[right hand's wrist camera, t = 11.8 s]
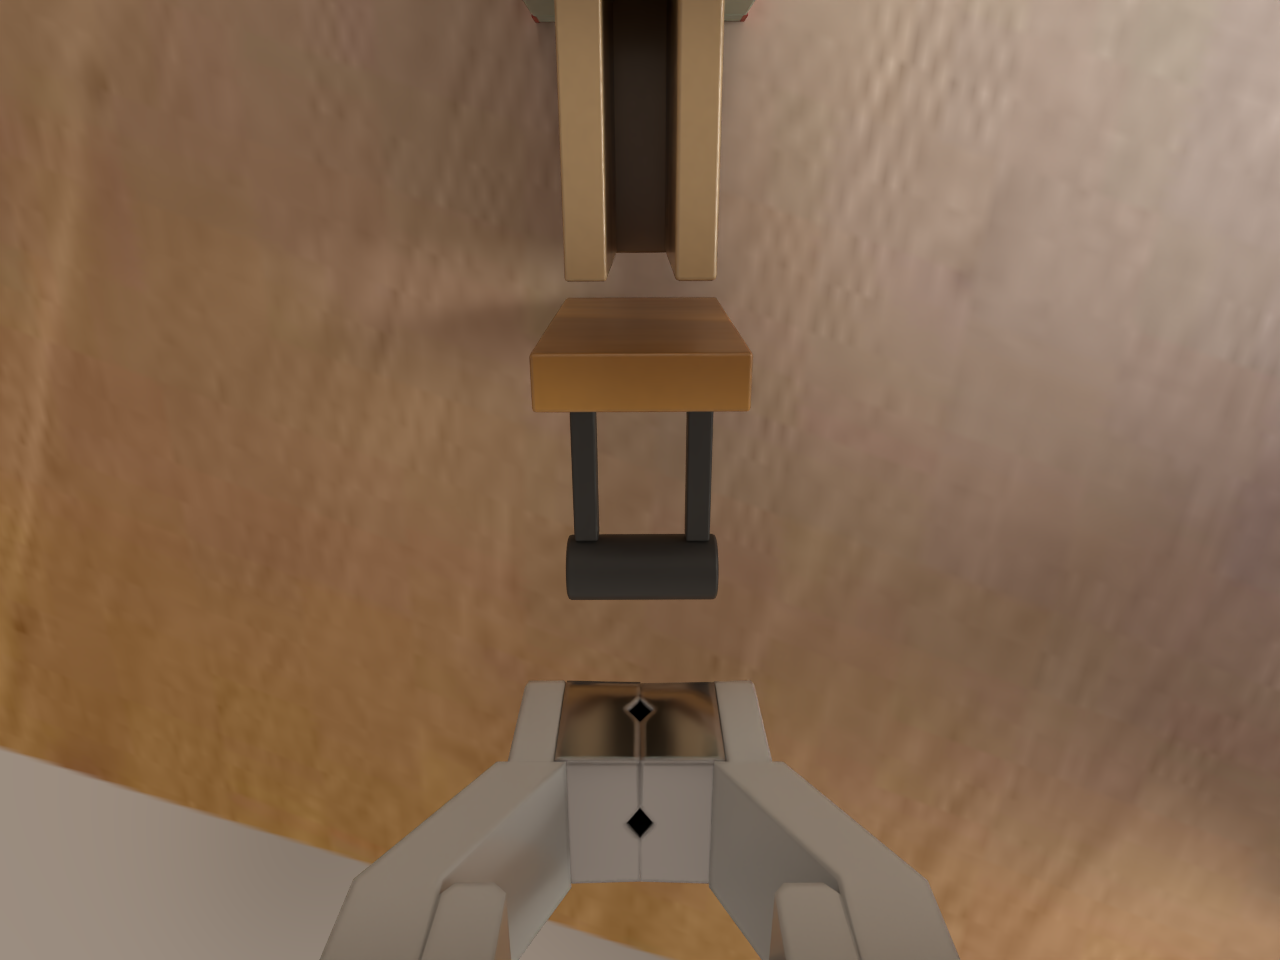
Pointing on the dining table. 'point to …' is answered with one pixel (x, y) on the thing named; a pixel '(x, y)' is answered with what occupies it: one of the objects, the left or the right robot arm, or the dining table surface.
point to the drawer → (640, 223)
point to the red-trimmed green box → (543, 10)
